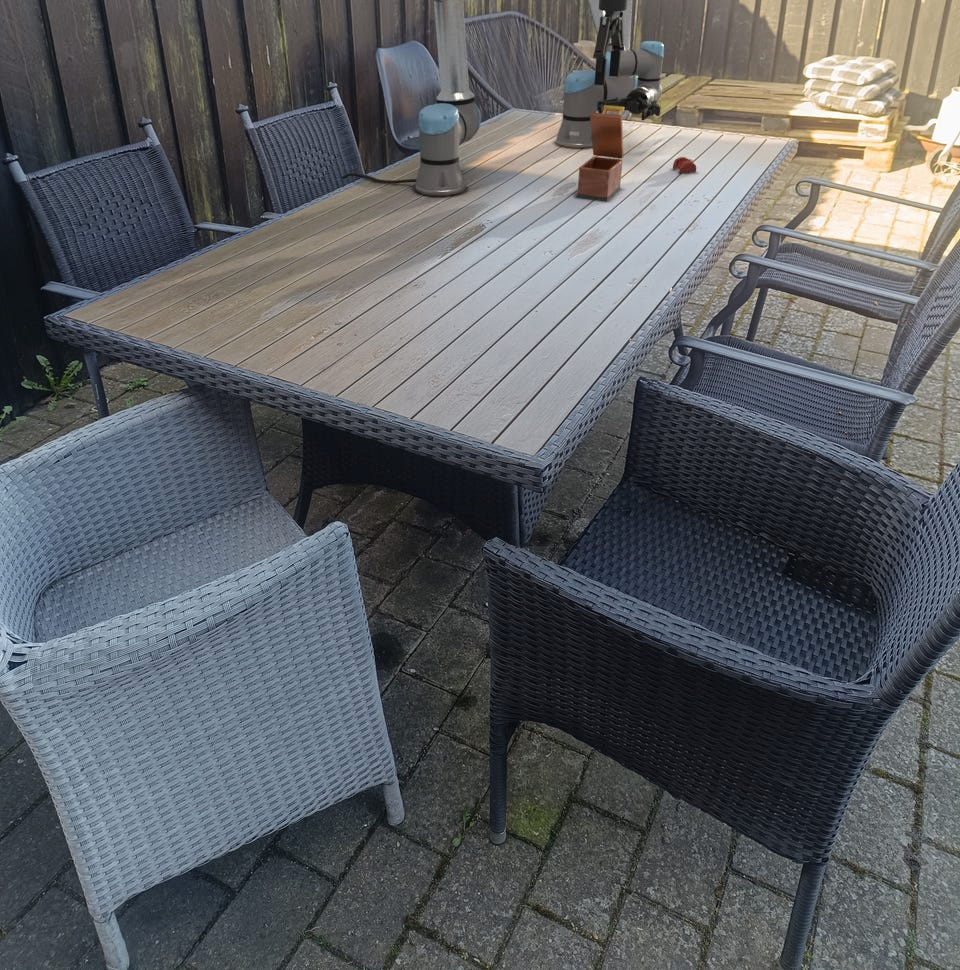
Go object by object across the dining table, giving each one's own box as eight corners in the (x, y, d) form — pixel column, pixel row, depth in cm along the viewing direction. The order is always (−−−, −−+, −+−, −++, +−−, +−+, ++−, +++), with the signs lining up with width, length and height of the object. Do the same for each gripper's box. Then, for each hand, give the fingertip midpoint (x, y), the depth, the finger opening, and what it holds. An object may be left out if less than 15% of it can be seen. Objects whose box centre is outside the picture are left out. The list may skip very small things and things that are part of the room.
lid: (620, 117, 241) (629, 98, 245) (589, 114, 245) (599, 96, 248) (622, 158, 254) (630, 139, 257) (593, 155, 257) (601, 136, 260)
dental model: (688, 153, 276) (699, 160, 270) (686, 166, 279) (697, 173, 272) (672, 155, 275) (682, 161, 269) (670, 168, 278) (681, 175, 271)
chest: (606, 201, 249) (609, 171, 244) (577, 197, 252) (579, 167, 247) (619, 188, 259) (622, 159, 254) (591, 185, 262) (593, 156, 257)
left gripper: (613, -2, 213) (606, 89, 226) (640, -11, 232) (631, 73, 244) (585, -3, 216) (579, 87, 228) (613, -12, 234) (607, 72, 247)
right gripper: (676, 116, 271) (659, 130, 255) (601, 109, 279) (581, 122, 264) (679, 90, 267) (662, 103, 251) (603, 84, 275) (583, 96, 259)
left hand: (606, 80), depth 236 cm, fingers open, 13 cm apart
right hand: (621, 113), depth 257 cm, fingers open, 13 cm apart
